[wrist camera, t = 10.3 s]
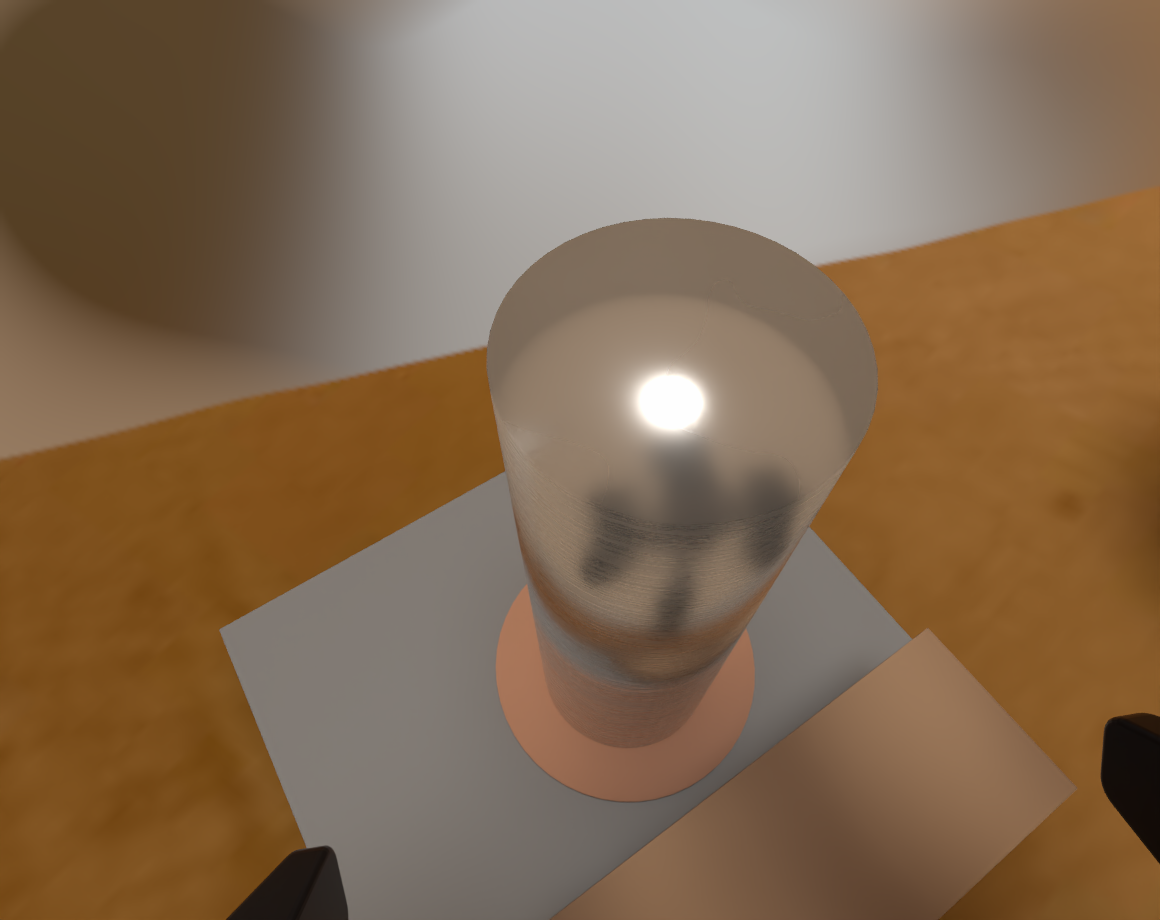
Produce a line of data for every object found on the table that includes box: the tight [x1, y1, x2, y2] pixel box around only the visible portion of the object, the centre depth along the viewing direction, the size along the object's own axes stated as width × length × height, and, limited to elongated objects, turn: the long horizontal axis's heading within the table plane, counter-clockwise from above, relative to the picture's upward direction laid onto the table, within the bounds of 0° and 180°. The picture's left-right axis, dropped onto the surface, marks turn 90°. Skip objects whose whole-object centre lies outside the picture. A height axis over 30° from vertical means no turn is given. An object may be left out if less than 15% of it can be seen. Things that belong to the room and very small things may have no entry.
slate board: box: [219, 471, 912, 920], centre depth 19 cm, size 16×15×2 cm
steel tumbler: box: [487, 218, 878, 748], centre depth 14 cm, size 4×4×13 cm
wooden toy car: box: [549, 628, 1077, 920], centre depth 15 cm, size 11×4×4 cm, turn 123°
